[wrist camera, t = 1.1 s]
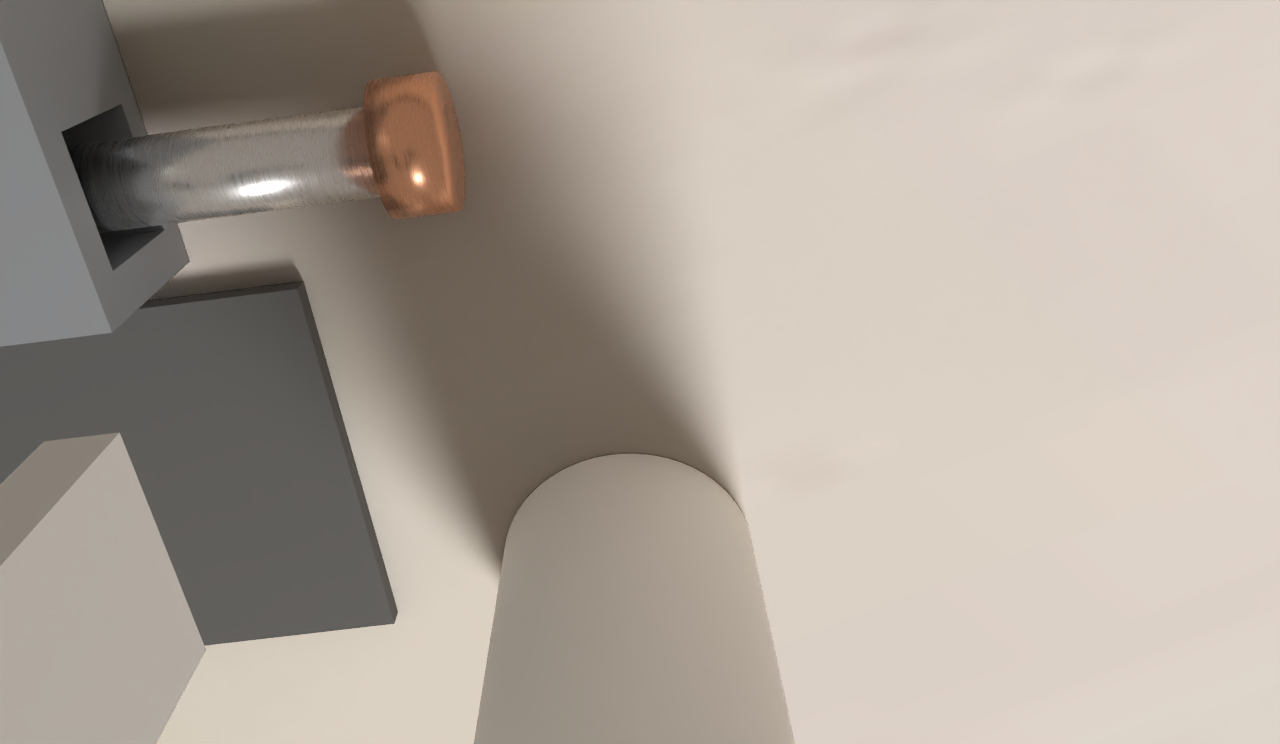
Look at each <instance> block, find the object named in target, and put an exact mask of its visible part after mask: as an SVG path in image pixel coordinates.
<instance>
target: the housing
mask: <svg viewBox="0 0 1280 744" xmlns="http://www.w3.org/2000/svg"><path fill="white" fill-rule="evenodd" d="M144 135H147V133H146V130H145V127H144V124H143V121H142V118H141V115H140V112H139V109H138V106H137V103H136V100H135V97H134V94H133V91H132V88H131V85H130V82H129V79H128V76H127V73H126V70H125V67H124V64H123V61H122V58H121V55H120V53H119V50H118V47H117V44H116V41H115V38H114V35H113V32H112V29H111V26H110V23H109V20H108V17H107V14H106V11H105V8H104V5H103V2H102V0H0V347H2V346H10V345H18V344H26V343H34V342H42V341H50V340H58V339H66V338H74V337H82V336H90V335H98V334H106V333H112V332H113V331H114V330H116V329H117V328H118V327H119V326H120V325H121V324H122V323H123V322H124V321H125V320H127V319H128V318H129V317H130V316H131V315H132V314H133V313H134V312H135V311H136V310H137V309H139V308H140V307H141V306H142V305H143V304H144V303H145V302H146V301H147V300H148V299H149V298H151V297H152V296H153V295H154V294H155V293H156V292H157V291H158V290H159V289H160V288H161V287H163V286H164V285H165V284H166V283H167V282H168V281H169V280H170V279H171V278H172V277H173V276H175V275H176V274H177V273H178V272H179V271H180V270H181V269H182V268H183V267H184V266H185V265H187V264H188V263H189V262H190V261H189V258H188V255H187V252H186V249H185V246H184V243H183V240H182V237H181V234H180V231H179V228H178V225H177V223H173V224H165V225H157V226H149V227H142V228H134V229H126V230H118V231H110V232H103V233H99V232H98V230H97V227H96V224H95V222H94V219H93V216H92V214H91V211H90V208H89V205H88V203H87V200H86V197H85V195H84V192H83V189H82V187H81V184H80V181H79V179H78V176H77V173H76V171H75V168H74V165H73V162H72V160H71V157H70V154H69V152H68V149H67V145H75V144H83V143H90V142H98V141H105V140H113V139H121V138H128V137H136V136H144Z"/></svg>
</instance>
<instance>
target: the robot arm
mask: <svg viewBox="0 0 1280 744" xmlns="http://www.w3.org/2000/svg"><path fill="white" fill-rule="evenodd" d="M205 650H206V649H205V646H204V644H203V641H202V639H201V636H200V634H199V631H198V629H197V626H196V624H195V621H194V618H193V616H192V613H191V611H190V608H189V606H188V603H187V601H186V598H185V596H184V593H183V591H182V588H181V586H180V583H179V581H178V578H177V576H176V573H175V571H174V568H173V566H172V563H171V561H170V558H169V556H168V553H167V550H166V548H165V545H164V543H163V540H162V538H161V535H160V533H159V530H158V528H157V525H156V523H155V520H154V518H153V515H152V513H151V510H150V508H149V505H148V503H147V500H146V498H145V495H144V493H143V490H142V487H141V485H140V482H139V480H138V477H137V475H136V472H135V470H134V467H133V465H132V462H131V460H130V457H129V455H128V452H127V450H126V447H125V445H124V442H123V440H122V437H121V435H120V433H111V434H103V435H94V436H85V437H77V438H68V439H60V440H51V441H44V442H43V443H42V444H41V445H40V446H39V447H38V448H37V449H36V450H35V451H34V452H33V453H31V454H30V455H29V456H28V457H27V458H26V459H25V460H24V461H23V462H22V463H21V464H20V465H19V466H18V467H17V468H16V469H15V470H14V471H13V472H12V473H11V474H10V475H9V476H8V477H7V478H6V479H5V480H4V481H3V482H2V483H1V484H0V744H156V743H157V741H158V739H159V737H160V735H161V733H162V731H163V729H164V727H165V726H166V724H167V722H168V720H169V718H170V716H171V714H172V712H173V711H174V709H175V707H176V705H177V703H178V701H179V699H180V697H181V695H182V694H183V692H184V690H185V688H186V686H187V684H188V682H189V680H190V679H191V677H192V675H193V673H194V671H195V669H196V667H197V665H198V664H199V662H200V660H201V658H202V656H203V654H204V652H205Z"/></svg>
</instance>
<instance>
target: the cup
mask: <svg viewBox="0 0 1280 744" xmlns="http://www.w3.org/2000/svg"><path fill="white" fill-rule="evenodd" d="M474 744H795V741H794V737H793V732H792V727H791V723H790V718H789V713H788V708H787V704H786V699H785V694H784V690H783V685H782V680H781V676H780V671H779V666H778V662H777V657H776V652H775V648H774V643H773V638H772V633H771V629H770V624H769V619H768V615H767V610H766V605H765V601H764V596H763V591H762V587H761V582H760V577H759V573H758V568H757V563H756V558H755V554H754V549H753V544H752V540H751V535H750V531H749V528H748V525H747V522H746V520H745V518H744V516H743V514H742V512H741V510H740V509H739V507H738V506H737V504H736V503H735V501H734V500H733V499H732V498H731V496H730V495H729V494H728V493H727V492H726V491H725V490H724V489H723V488H722V487H721V486H720V485H719V484H717V483H716V482H715V481H714V480H713V479H711V478H710V477H708V476H707V475H705V474H704V473H702V472H700V471H698V470H696V469H695V468H693V467H691V466H688V465H686V464H683V463H681V462H678V461H675V460H672V459H669V458H664V457H659V456H654V455H647V454H614V455H606V456H601V457H596V458H592V459H589V460H585V461H582V462H579V463H577V464H574V465H572V466H569V467H567V468H566V469H564V470H562V471H560V472H558V473H556V474H555V475H553V476H552V477H550V478H548V479H547V480H546V481H545V482H543V483H542V484H541V485H540V486H538V487H537V488H536V489H535V490H534V491H533V492H532V493H531V494H530V495H529V496H528V498H527V499H526V500H525V501H524V502H523V504H522V505H521V507H520V508H519V510H518V511H517V513H516V515H515V517H514V519H513V521H512V523H511V526H510V528H509V531H508V534H507V538H506V543H505V549H504V555H503V562H502V568H501V574H500V581H499V587H498V594H497V600H496V606H495V613H494V619H493V625H492V632H491V638H490V644H489V651H488V657H487V664H486V670H485V676H484V683H483V689H482V695H481V702H480V708H479V714H478V721H477V727H476V734H475V740H474Z"/></svg>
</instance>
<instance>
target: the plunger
mask: <svg viewBox="0 0 1280 744" xmlns="http://www.w3.org/2000/svg"><path fill="white" fill-rule="evenodd" d="M67 149H68V152H69V154H70V157H71V160H72V162H73V165H74V168H75V171H76V173H77V176H78V179H79V181H80V184H81V187H82V189H83V192H84V195H85V197H86V200H87V203H88V205H89V208H90V211H91V214H92V216H93V219H94V222H95V224H96V227H97V230H98V232H99V233H103V232H110V231H118V230H126V229H134V228H142V227H149V226H157V225H165V224H173V223H180V222H188V221H196V220H204V219H212V218H219V217H227V216H235V215H243V214H251V213H258V212H266V211H274V210H282V209H290V208H297V207H305V206H313V205H321V204H328V203H336V202H344V201H352V200H360V199H367V198H375V197H381V200H382V202H383V204H384V206H385V208H386V210H387V212H388V213H389V214H390V216H392V217H393V218H394V219H403V218H411V217H419V216H427V215H435V214H443V213H451V212H458V211H462V209H463V207H464V203H465V194H466V181H465V166H464V157H463V149H462V142H461V136H460V131H459V126H458V121H457V117H456V112H455V108H454V105H453V101H452V98H451V95H450V92H449V89H448V86H447V84H446V81H445V79H444V78H443V76H442V74H441V73H440V72H439V71H433V72H425V73H418V74H410V75H403V76H395V77H387V78H380V79H372V80H370V81H369V82H368V83H367V85H366V89H365V94H364V107H357V108H350V109H342V110H334V111H327V112H319V113H311V114H304V115H296V116H289V117H281V118H273V119H266V120H258V121H250V122H243V123H235V124H227V125H220V126H212V127H205V128H197V129H189V130H182V131H174V132H166V133H159V134H151V135H144V136H136V137H128V138H121V139H113V140H105V141H98V142H90V143H83V144H75V145H67Z"/></svg>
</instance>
